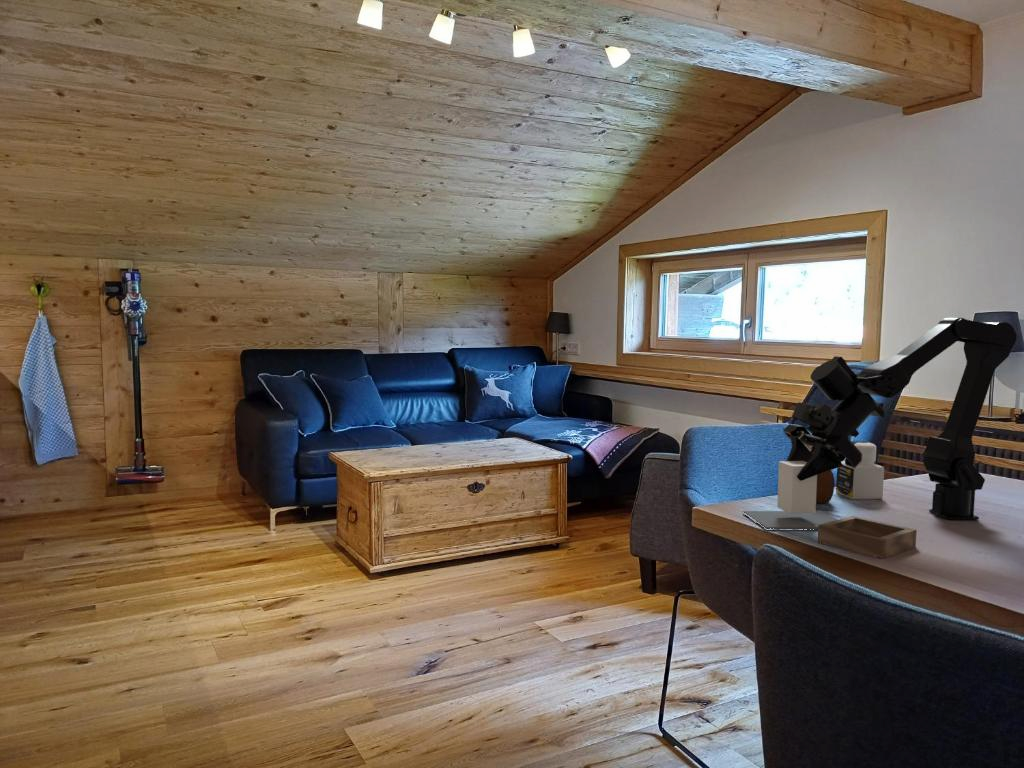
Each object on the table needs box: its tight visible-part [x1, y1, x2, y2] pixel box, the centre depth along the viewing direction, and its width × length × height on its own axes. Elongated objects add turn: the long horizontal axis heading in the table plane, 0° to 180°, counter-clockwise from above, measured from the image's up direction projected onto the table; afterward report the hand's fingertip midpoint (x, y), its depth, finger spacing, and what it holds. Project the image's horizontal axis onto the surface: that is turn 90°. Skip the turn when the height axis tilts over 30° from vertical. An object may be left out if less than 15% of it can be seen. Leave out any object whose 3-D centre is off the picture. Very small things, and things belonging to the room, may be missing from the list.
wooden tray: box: [816, 515, 918, 559], centre depth 133 cm, size 11×11×3 cm
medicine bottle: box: [835, 440, 885, 500], centre depth 170 cm, size 7×7×12 cm
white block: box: [776, 460, 817, 514], centre depth 147 cm, size 5×5×9 cm
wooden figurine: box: [812, 452, 835, 505], centre depth 163 cm, size 7×6×15 cm
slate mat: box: [742, 510, 839, 531], centre depth 147 cm, size 16×12×1 cm
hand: (791, 476), depth 146 cm, fingers closed on white block, 5 cm apart
